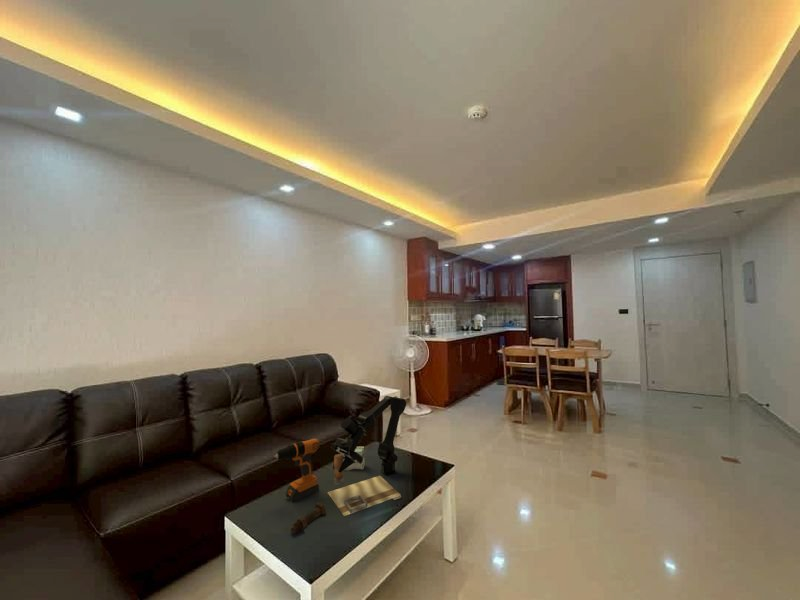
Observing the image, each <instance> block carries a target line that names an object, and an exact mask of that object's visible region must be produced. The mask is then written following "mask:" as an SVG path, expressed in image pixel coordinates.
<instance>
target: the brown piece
mask: <svg viewBox="0 0 800 600" xmlns="http://www.w3.org/2000/svg"><path fill="white" fill-rule="evenodd" d="M333 461H334V463H333V465H334V469H333V470H334V477H333V483H334V485H336V486H340V485H343V484H344V482H345V480H344V479H345V477H344V470H343V471H342V472H341V473H340V472H339V469H340V467H341V465H342V463H343V455H342V454H337V455H334V456H333Z"/></svg>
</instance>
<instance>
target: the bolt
mask: <svg viewBox="0 0 800 600" xmlns="http://www.w3.org/2000/svg"><path fill="white" fill-rule="evenodd" d="M326 513H327V510H326V506H325V505H324V504H323V502H317V503H316V504H315V507H314V508H313V510H311V511H310V512H309V513H307V514H306V515H305V516H302V515H300V516H299V517H298V518H297V519H296V522H294V523H293V524H292V525H291V526H290V532H291V533H292V534H294V535H295V534H296V533H299V531H304V530H305V528H306V527H307V526H308V524H311V522H312V521H314V520H316V519H317V518H318V517H320V516H321V515H322V516H324V515H325V514H326Z"/></svg>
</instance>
